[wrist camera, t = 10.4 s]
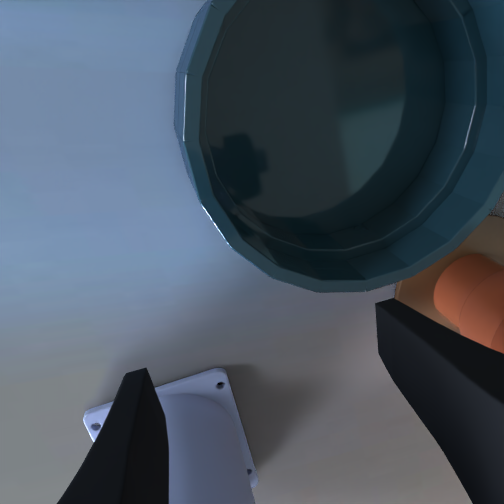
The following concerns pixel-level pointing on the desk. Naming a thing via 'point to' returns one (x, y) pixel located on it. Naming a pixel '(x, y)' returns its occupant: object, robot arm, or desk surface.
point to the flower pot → (474, 299)
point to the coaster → (423, 284)
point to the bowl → (344, 132)
